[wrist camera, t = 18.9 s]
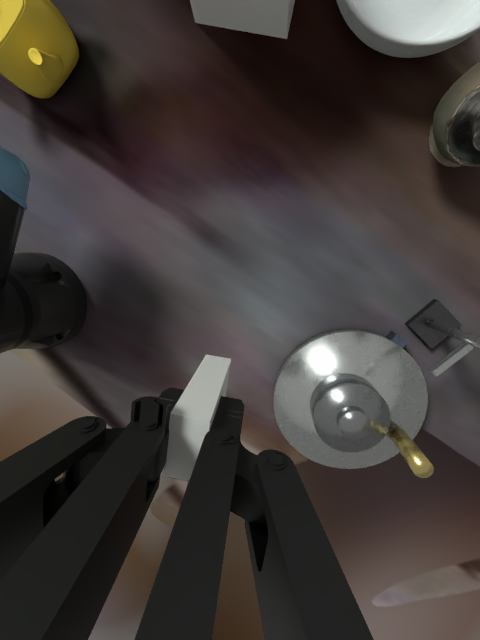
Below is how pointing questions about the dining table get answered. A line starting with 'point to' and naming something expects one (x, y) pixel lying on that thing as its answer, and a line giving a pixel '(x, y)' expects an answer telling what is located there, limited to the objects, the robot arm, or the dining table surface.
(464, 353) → the rod on square base
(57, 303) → the robot arm
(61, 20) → the teapot
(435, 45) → the serving bowl
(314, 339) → the turntable
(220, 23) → the milk
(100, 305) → the dining table surface
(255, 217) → the dining table surface
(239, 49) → the dining table surface
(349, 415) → the cover
